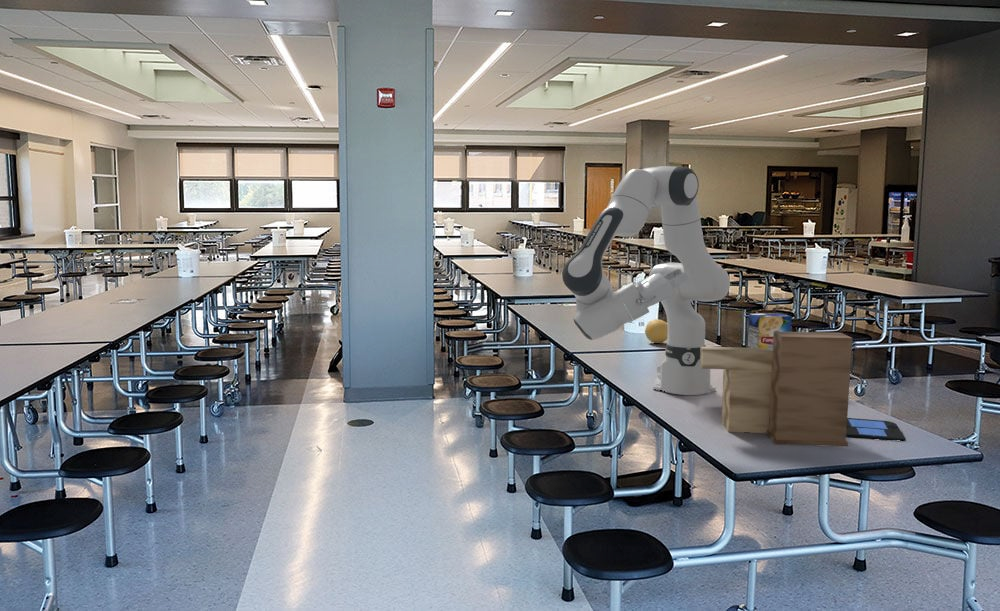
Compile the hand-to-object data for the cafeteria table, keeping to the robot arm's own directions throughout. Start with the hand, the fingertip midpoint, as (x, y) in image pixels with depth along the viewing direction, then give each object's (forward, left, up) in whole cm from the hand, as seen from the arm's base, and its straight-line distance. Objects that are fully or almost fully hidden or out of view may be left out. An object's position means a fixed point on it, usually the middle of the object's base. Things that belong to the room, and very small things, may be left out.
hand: (683, 273), depth 195 cm
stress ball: (-119, +8, -40) cm, 126 cm away
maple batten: (0, +15, -24) cm, 28 cm away
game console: (+1, +47, -40) cm, 62 cm away
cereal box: (-52, +35, -40) cm, 74 cm away
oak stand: (0, +23, -40) cm, 46 cm away
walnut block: (+9, +29, -40) cm, 50 cm away
